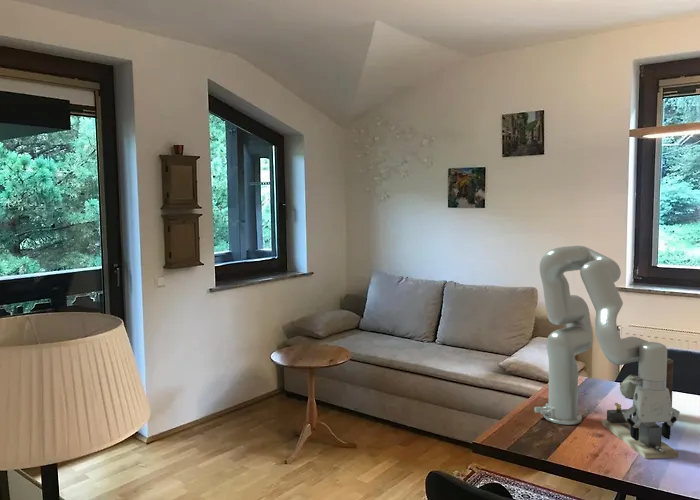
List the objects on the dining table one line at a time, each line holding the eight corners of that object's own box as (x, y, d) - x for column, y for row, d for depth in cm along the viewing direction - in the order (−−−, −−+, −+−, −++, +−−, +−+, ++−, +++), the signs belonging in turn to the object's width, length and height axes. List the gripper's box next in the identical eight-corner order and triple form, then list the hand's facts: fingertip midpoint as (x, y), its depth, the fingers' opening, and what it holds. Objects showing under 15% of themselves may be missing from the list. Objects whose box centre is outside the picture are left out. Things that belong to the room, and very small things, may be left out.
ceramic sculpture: (614, 375, 219) (622, 367, 231) (613, 397, 219) (621, 388, 231) (645, 380, 213) (651, 372, 225) (644, 403, 213) (650, 394, 225)
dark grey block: (669, 453, 168) (670, 433, 167) (656, 453, 168) (657, 433, 167) (651, 439, 177) (652, 421, 177) (639, 440, 177) (639, 421, 177)
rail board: (677, 457, 169) (678, 451, 169) (644, 458, 169) (645, 453, 168) (630, 422, 195) (630, 418, 195) (601, 423, 194) (601, 419, 194)
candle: (670, 420, 197) (673, 363, 195) (647, 416, 200) (648, 360, 199) (672, 413, 203) (674, 357, 201) (648, 409, 207) (650, 355, 205)
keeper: (631, 422, 191) (632, 406, 191) (611, 423, 191) (611, 407, 190) (625, 418, 195) (625, 402, 195) (605, 418, 195) (605, 402, 194)
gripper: (630, 388, 169) (629, 444, 170) (687, 386, 170) (685, 442, 171) (617, 380, 176) (616, 434, 178) (672, 378, 177) (670, 432, 179)
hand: (650, 438), depth 174 cm, fingers open, 9 cm apart
